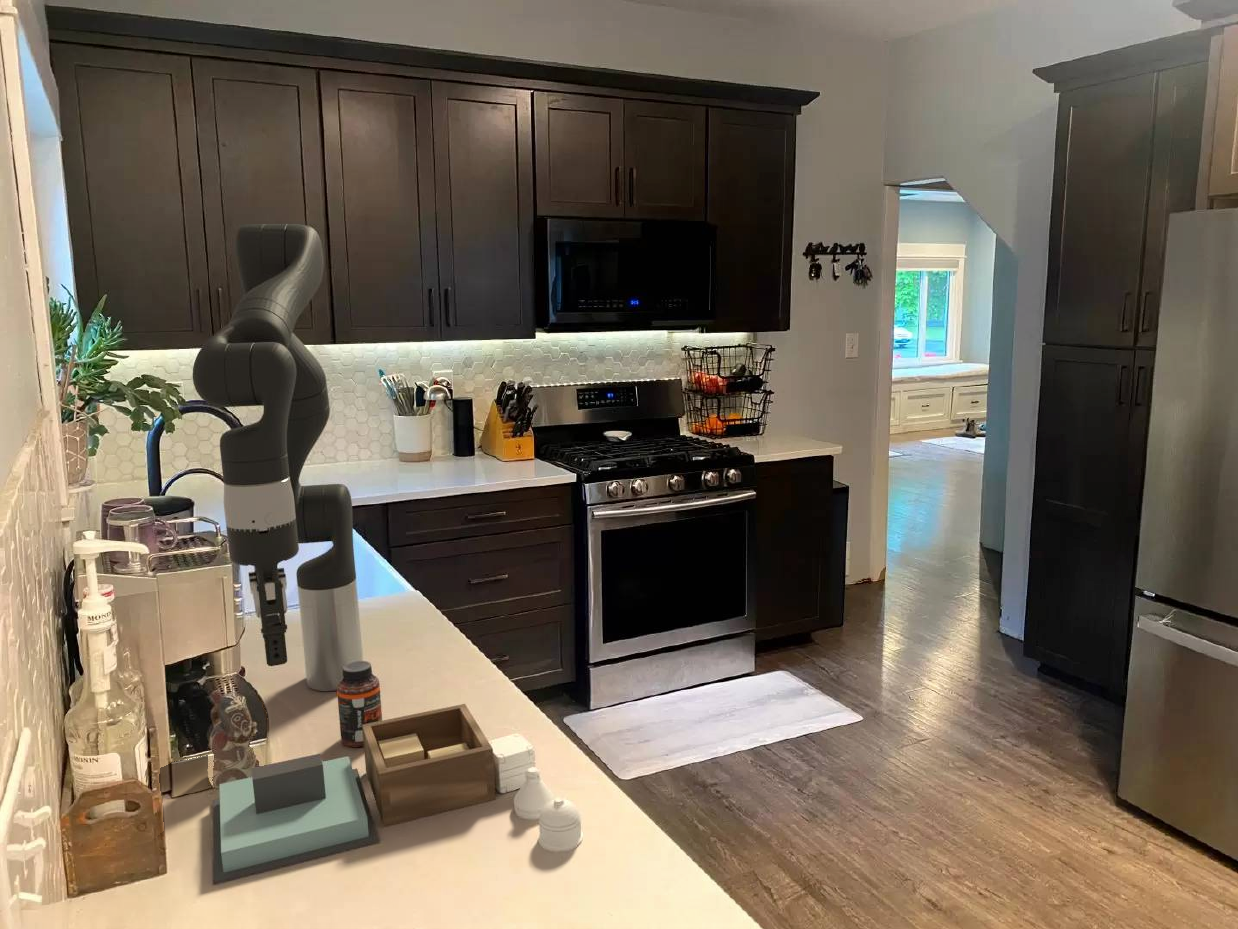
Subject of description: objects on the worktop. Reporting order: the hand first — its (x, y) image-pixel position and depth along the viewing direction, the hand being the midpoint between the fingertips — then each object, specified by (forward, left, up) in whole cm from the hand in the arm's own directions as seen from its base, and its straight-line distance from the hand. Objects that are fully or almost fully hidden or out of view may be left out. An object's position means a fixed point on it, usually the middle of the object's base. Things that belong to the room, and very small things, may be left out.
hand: (274, 650), depth 109 cm
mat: (0, 0, -22) cm, 22 cm away
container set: (+10, +28, -23) cm, 37 cm away
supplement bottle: (-18, +11, -23) cm, 31 cm away
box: (-1, +17, -22) cm, 28 cm away
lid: (0, 0, -22) cm, 22 cm away
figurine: (-15, -6, -23) cm, 28 cm away
